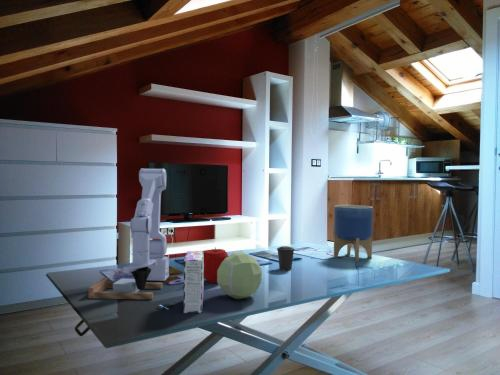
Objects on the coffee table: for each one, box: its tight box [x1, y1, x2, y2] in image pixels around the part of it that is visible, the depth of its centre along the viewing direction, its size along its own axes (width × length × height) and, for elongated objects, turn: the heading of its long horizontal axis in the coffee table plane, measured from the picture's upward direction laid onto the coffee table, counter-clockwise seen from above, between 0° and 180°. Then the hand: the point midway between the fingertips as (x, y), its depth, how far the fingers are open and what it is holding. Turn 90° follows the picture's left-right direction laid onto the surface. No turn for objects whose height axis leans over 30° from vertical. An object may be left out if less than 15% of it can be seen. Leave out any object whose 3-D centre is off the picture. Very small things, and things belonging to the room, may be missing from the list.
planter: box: [333, 204, 374, 263], centre depth 205 cm, size 19×19×26 cm
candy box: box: [183, 250, 205, 314], centre depth 127 cm, size 14×6×16 cm, turn 5°
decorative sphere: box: [217, 252, 263, 300], centre depth 137 cm, size 15×15×15 cm
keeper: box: [112, 278, 140, 292], centre depth 141 cm, size 7×7×4 cm
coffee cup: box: [276, 245, 296, 271], centre depth 178 cm, size 8×8×10 cm
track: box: [88, 277, 163, 300], centre depth 140 cm, size 22×13×4 cm, turn 88°
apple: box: [203, 247, 229, 284], centre depth 156 cm, size 11×10×14 cm
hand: (140, 289), depth 140 cm, fingers closed
